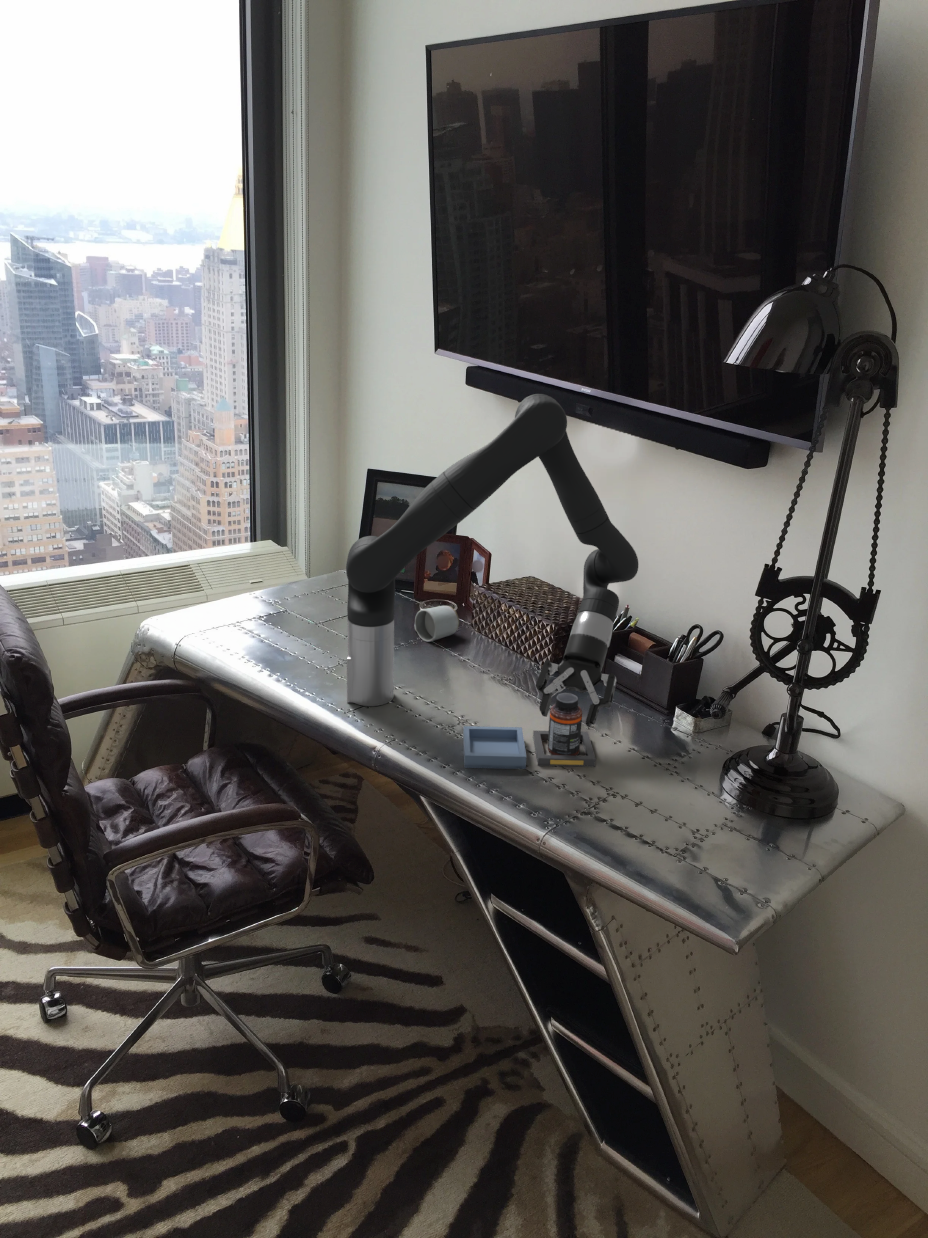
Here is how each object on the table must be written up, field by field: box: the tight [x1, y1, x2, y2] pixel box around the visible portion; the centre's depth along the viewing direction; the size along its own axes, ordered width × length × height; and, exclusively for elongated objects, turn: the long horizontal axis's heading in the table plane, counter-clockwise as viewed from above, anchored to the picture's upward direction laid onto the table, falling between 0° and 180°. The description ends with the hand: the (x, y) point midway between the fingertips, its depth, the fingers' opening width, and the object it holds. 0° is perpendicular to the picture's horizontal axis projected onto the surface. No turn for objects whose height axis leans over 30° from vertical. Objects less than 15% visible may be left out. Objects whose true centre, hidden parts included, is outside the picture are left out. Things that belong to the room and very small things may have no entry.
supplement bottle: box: [547, 692, 583, 756], centre depth 182 cm, size 6×6×11 cm
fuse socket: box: [532, 730, 597, 768], centre depth 184 cm, size 10×10×2 cm
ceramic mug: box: [413, 605, 460, 643], centre depth 232 cm, size 11×8×8 cm
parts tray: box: [462, 725, 527, 770], centre depth 182 cm, size 11×11×2 cm
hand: (565, 720), depth 181 cm, fingers open, 8 cm apart
